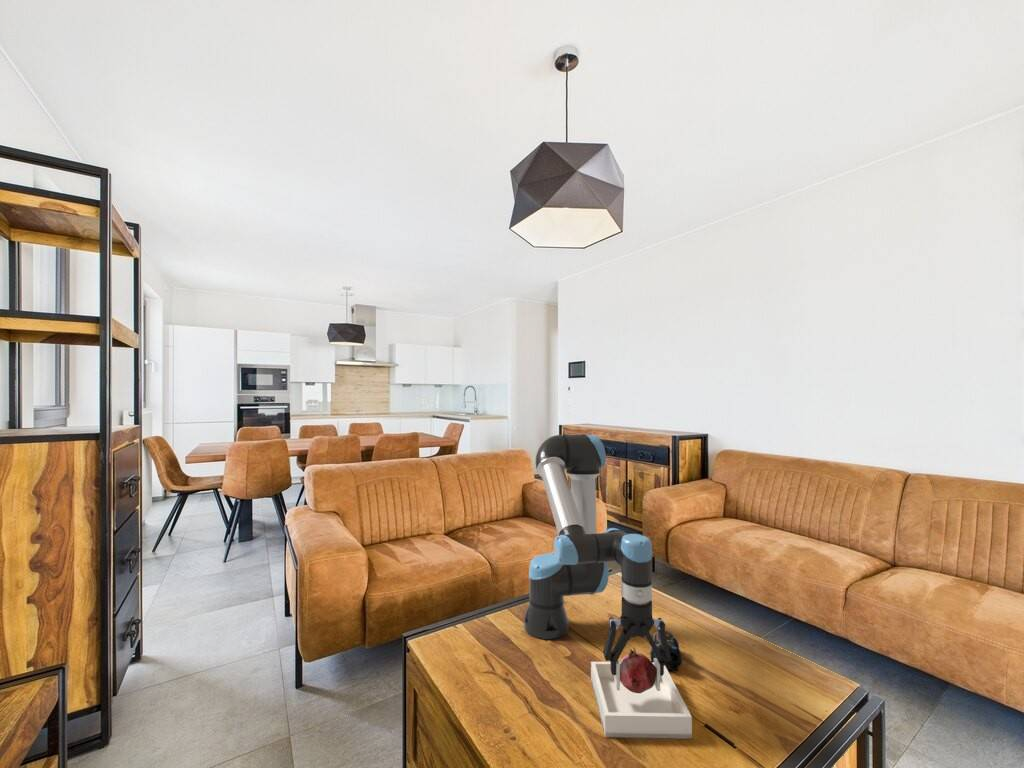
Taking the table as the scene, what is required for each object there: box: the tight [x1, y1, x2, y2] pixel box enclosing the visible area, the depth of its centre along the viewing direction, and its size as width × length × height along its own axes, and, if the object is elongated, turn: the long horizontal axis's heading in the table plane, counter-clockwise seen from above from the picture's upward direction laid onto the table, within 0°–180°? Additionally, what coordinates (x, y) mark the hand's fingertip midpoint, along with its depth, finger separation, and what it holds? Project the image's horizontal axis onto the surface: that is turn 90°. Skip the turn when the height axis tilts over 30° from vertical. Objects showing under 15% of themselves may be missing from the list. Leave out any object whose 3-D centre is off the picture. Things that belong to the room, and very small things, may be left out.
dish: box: [590, 661, 693, 740], centre depth 111 cm, size 20×20×5 cm
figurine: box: [649, 629, 683, 672], centre depth 130 cm, size 9×8×15 cm
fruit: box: [620, 647, 656, 693], centre depth 111 cm, size 9×10×10 cm
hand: (637, 687), depth 111 cm, fingers closed on fruit, 9 cm apart
